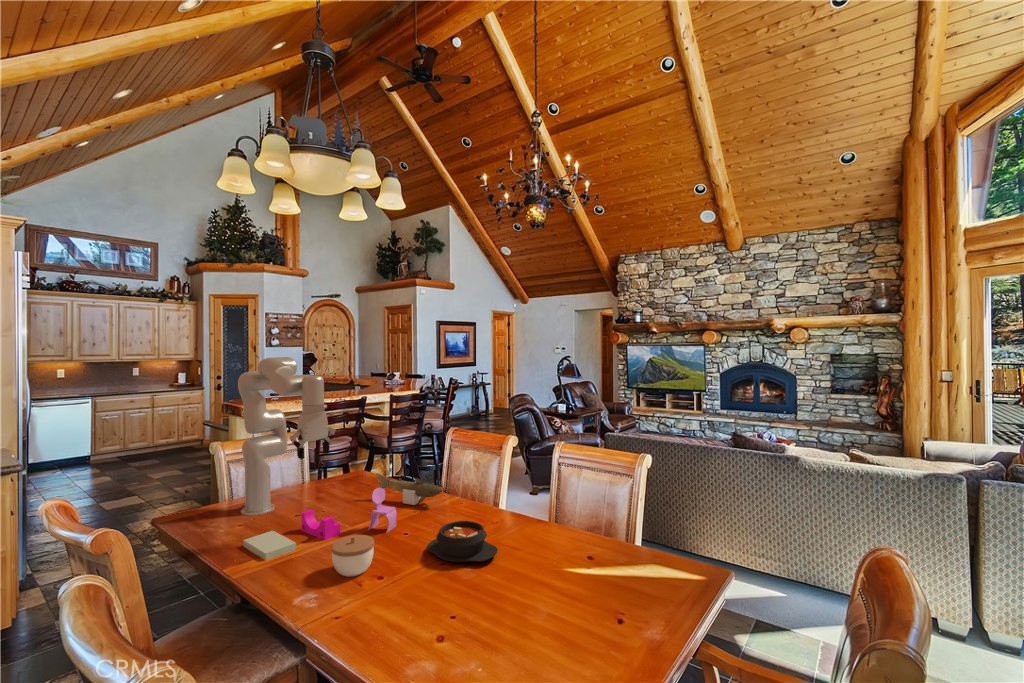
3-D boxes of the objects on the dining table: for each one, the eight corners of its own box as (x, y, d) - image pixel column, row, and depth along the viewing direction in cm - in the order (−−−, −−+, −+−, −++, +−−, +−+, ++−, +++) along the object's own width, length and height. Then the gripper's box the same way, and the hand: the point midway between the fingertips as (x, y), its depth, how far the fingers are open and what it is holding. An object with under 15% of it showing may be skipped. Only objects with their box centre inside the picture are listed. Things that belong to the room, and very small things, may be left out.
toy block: (340, 535, 169) (340, 515, 169) (325, 541, 164) (325, 521, 164) (316, 526, 177) (316, 507, 177) (301, 532, 172) (301, 512, 172)
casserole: (507, 549, 157) (506, 524, 157) (481, 574, 140) (480, 547, 140) (445, 536, 167) (445, 513, 167) (414, 558, 150) (414, 533, 150)
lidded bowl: (382, 566, 145) (382, 531, 145) (356, 586, 133) (356, 548, 133) (349, 560, 149) (349, 526, 149) (322, 579, 137) (322, 542, 137)
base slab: (243, 550, 158) (243, 540, 158) (272, 540, 166) (272, 530, 166) (265, 564, 148) (265, 553, 148) (296, 553, 156) (296, 542, 156)
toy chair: (386, 533, 170) (386, 493, 170) (366, 531, 173) (366, 491, 173) (398, 525, 178) (398, 487, 178) (379, 522, 180) (379, 485, 180)
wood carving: (382, 493, 215) (382, 470, 215) (447, 502, 202) (447, 477, 202) (370, 499, 207) (370, 475, 207) (436, 509, 194) (436, 483, 194)
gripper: (329, 405, 177) (329, 449, 177) (284, 411, 163) (285, 459, 163) (340, 407, 173) (340, 452, 172) (295, 413, 159) (296, 462, 158)
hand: (313, 455), depth 168 cm, fingers open, 9 cm apart
